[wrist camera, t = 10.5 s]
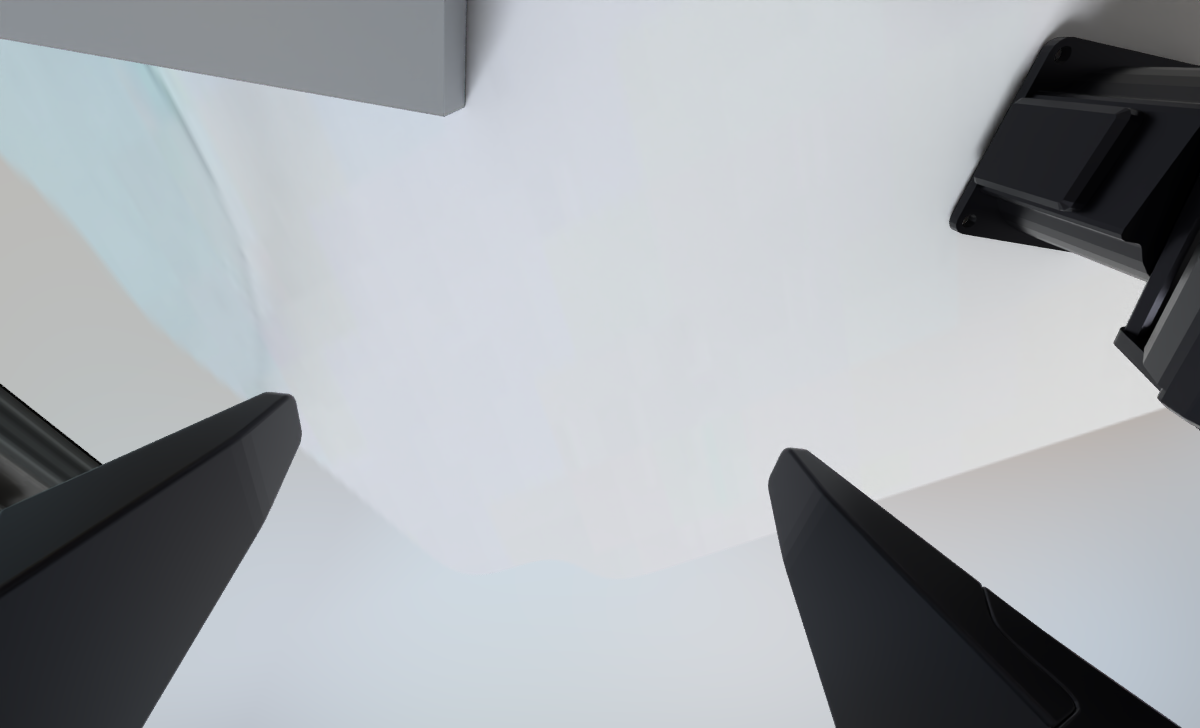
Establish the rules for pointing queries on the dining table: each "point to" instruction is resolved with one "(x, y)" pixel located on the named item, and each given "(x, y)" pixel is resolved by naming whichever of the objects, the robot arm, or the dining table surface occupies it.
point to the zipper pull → (34, 452)
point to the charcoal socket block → (272, 42)
